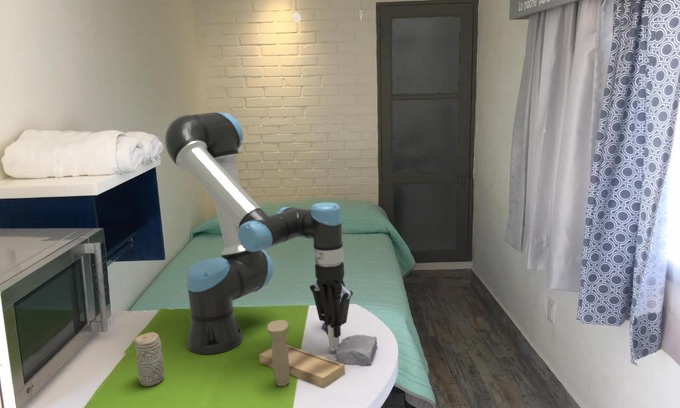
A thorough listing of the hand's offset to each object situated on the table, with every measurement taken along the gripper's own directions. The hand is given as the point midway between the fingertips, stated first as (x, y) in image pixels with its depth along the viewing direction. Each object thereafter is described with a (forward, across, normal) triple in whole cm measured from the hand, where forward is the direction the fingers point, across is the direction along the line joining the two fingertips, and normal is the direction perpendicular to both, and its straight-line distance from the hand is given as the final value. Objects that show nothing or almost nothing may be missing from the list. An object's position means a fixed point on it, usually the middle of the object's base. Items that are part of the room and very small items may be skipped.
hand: (334, 347), depth 149 cm
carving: (+2, -28, -37) cm, 47 cm away
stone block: (+2, +6, +2) cm, 6 cm away
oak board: (+1, -2, -12) cm, 12 cm away
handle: (+2, 0, -20) cm, 20 cm away
